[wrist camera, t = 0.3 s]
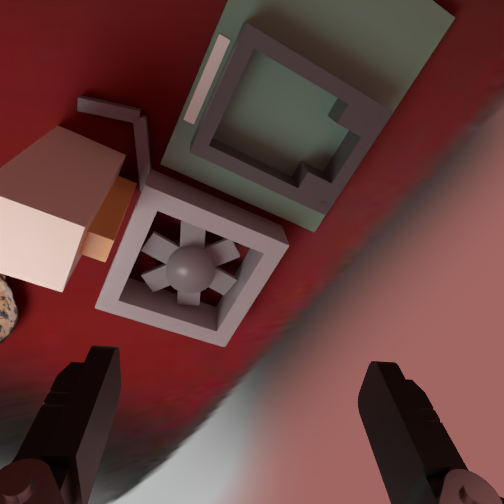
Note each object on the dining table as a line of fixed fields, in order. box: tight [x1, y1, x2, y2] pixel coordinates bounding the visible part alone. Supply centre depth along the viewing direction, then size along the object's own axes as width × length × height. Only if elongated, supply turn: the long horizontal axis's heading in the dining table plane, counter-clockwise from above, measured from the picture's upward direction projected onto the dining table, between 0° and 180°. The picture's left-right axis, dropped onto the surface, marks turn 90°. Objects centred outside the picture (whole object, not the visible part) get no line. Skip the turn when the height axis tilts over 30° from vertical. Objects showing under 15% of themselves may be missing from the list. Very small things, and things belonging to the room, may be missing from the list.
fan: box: [77, 95, 289, 347], centre depth 32 cm, size 16×18×4 cm
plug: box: [0, 125, 137, 292], centre depth 25 cm, size 4×6×12 cm
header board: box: [160, 0, 455, 232], centre depth 27 cm, size 18×14×4 cm
